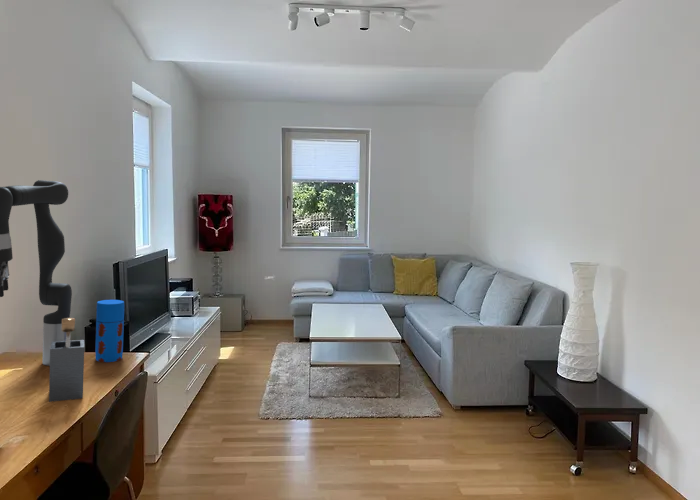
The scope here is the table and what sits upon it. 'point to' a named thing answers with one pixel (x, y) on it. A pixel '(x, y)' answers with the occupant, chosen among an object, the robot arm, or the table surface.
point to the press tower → (66, 370)
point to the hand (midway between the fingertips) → (2, 293)
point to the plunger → (68, 328)
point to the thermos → (109, 330)
